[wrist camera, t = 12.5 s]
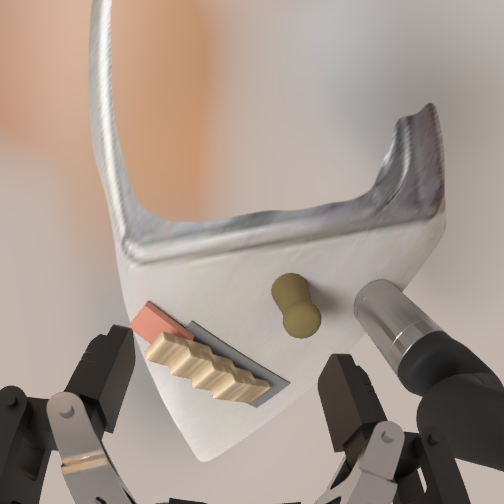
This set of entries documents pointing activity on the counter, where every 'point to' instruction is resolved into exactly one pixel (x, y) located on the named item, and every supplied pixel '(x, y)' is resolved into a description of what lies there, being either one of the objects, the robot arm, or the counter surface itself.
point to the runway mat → (239, 362)
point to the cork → (296, 305)
